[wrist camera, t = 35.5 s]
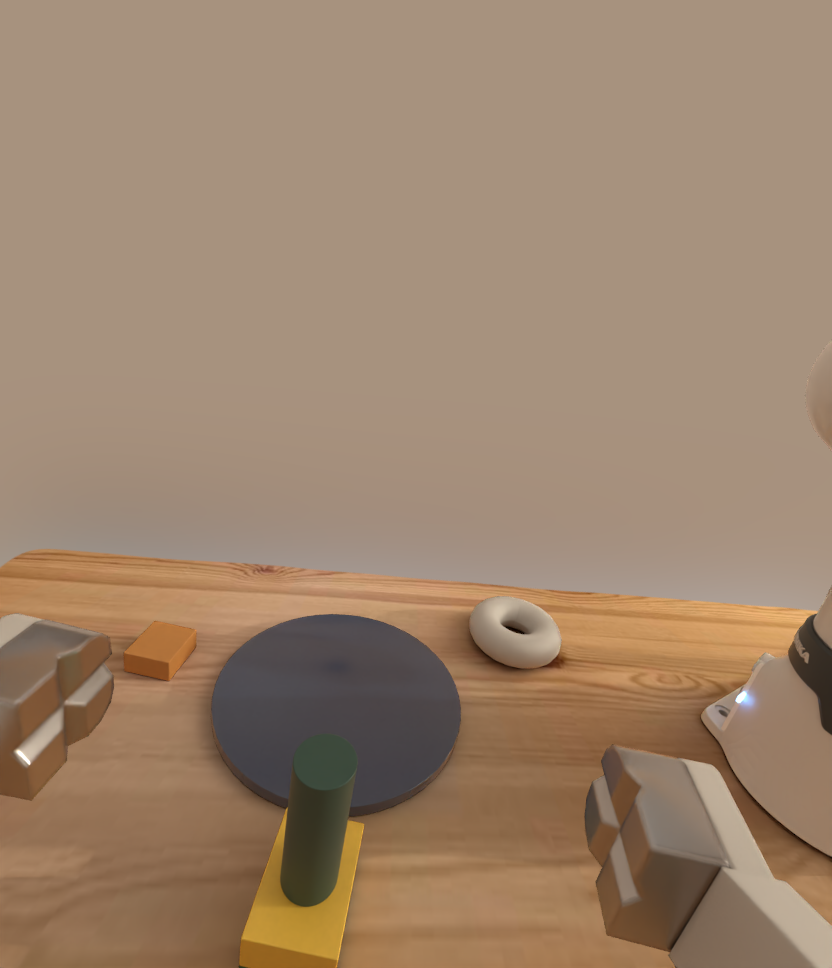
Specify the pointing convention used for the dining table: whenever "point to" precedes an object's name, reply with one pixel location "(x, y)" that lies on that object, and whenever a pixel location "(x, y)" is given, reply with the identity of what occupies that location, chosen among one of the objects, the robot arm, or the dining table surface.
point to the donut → (510, 646)
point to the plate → (337, 707)
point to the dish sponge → (308, 864)
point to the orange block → (160, 650)
